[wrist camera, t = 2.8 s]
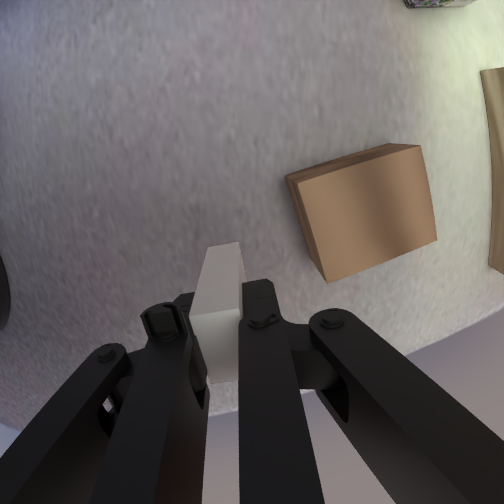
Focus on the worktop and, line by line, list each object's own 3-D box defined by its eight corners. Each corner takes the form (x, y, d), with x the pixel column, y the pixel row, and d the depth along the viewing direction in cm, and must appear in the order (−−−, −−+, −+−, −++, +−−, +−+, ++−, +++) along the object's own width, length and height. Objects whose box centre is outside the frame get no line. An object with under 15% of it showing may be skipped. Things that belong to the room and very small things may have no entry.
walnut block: (310, 258, 26) (327, 283, 21) (284, 175, 23) (297, 183, 19) (405, 222, 25) (437, 240, 20) (388, 143, 23) (420, 145, 18)
